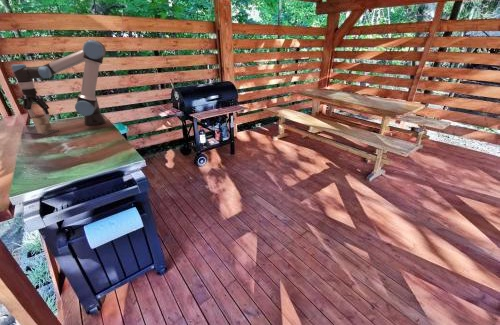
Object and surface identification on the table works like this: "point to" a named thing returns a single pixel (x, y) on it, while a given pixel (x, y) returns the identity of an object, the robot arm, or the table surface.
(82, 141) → the table surface
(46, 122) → the slab
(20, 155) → the table surface
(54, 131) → the mat
